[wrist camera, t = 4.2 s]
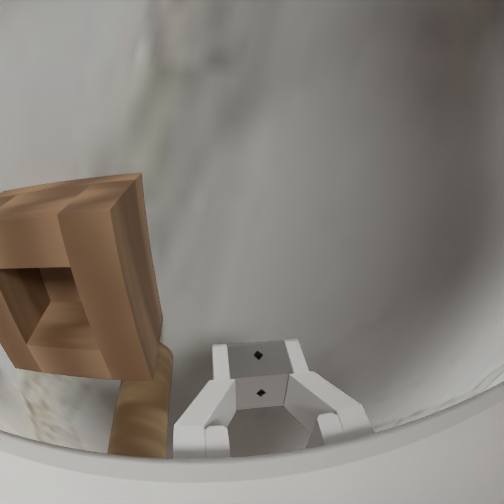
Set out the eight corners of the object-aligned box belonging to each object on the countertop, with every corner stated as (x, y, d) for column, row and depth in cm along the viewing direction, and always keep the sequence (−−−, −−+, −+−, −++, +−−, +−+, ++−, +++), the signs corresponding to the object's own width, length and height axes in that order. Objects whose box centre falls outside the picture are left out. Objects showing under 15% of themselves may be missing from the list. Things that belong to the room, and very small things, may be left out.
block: (141, 172, 14) (109, 209, 10) (163, 318, 18) (152, 381, 14) (3, 191, 13) (-49, 228, 9) (43, 316, 18) (15, 367, 13)
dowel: (169, 339, 19) (156, 482, 11) (176, 370, 21) (170, 499, 12) (123, 339, 19) (93, 475, 10) (134, 369, 21) (115, 493, 12)
